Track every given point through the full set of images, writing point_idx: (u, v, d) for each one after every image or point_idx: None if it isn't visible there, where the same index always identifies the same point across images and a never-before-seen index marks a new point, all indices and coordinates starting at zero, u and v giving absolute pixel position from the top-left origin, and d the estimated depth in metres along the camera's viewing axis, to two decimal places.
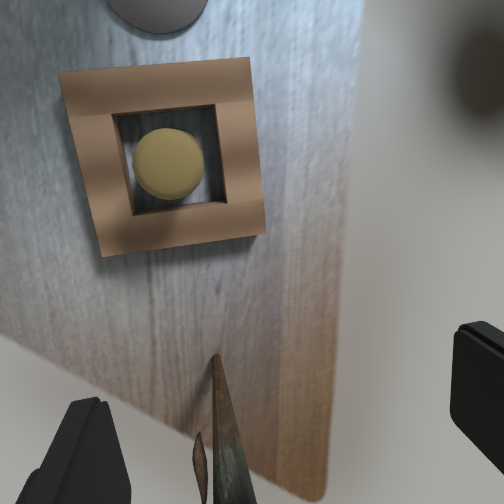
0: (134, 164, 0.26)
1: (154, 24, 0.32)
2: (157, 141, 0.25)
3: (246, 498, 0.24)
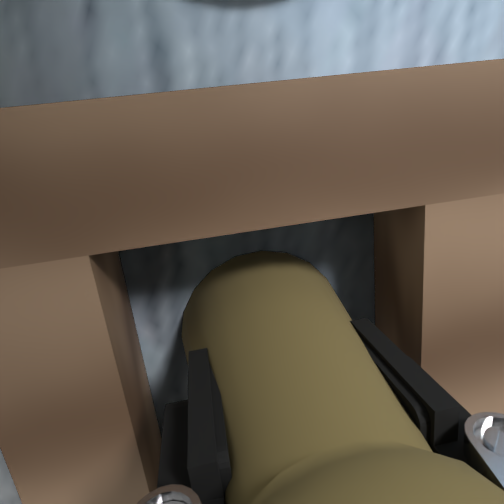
0: None
1: None
2: None
3: None
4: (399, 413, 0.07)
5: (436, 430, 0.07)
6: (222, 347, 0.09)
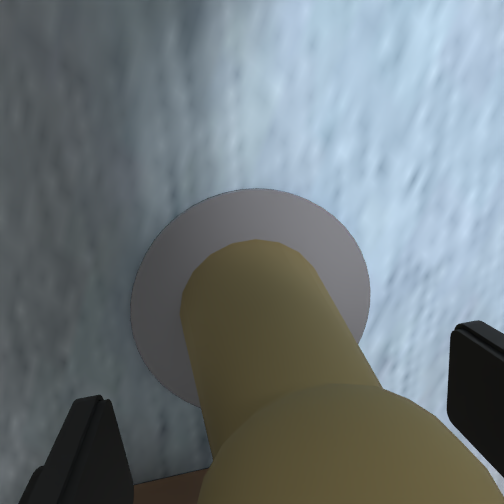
0: None
1: None
2: None
3: None
4: (364, 369, 0.08)
5: None
6: (217, 317, 0.10)
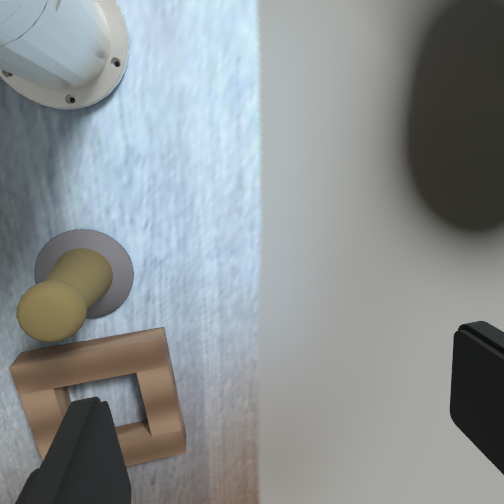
0: (17, 316, 0.29)
1: (87, 313, 0.40)
2: (35, 300, 0.28)
3: None
4: (75, 281, 0.32)
5: None
6: (50, 272, 0.35)
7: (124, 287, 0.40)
